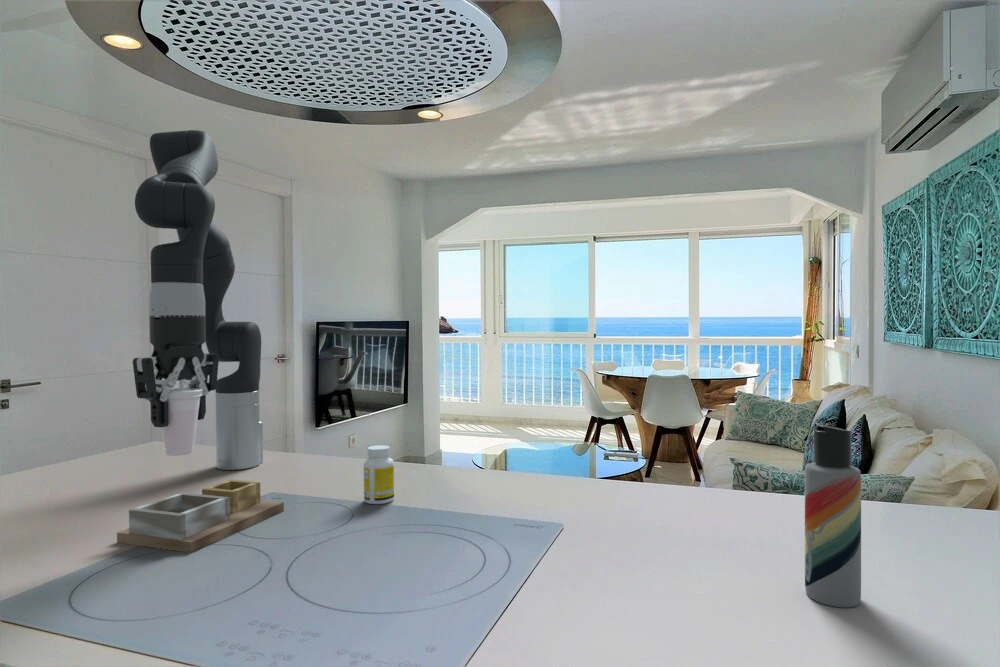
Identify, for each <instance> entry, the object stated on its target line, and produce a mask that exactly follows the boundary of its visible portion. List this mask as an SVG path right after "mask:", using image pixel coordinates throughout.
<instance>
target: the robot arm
mask: <svg viewBox="0 0 1000 667" xmlns="http://www.w3.org/2000/svg"><path fill="white" fill-rule="evenodd" d="M149 149H150V153H151V158H152V161H153V164H154V167H155V170H156V172H157V173H156V174H155V175H152V176H150V177H148V178H147V179H145V180H144V181H143V182H141V184H140V185H139V187H138V189H137V191H136V192H135V197H134V209H135V212H136V214H137V216H138V218H139V219H140V221H142V223H144V224H145V225H147V226H149V227H152V228H155V229H167V230H168V229H171V230H176V232H177V235H178V236H177V237H178V240H179V241H174V242H169V243H161V244H158V245H157V244H156V245H154V247H152V248H151V251H150V283H151V284H150V292H149V298H148V299H149V300H148V301H149V305H148V308H149V309H148V310H149V314H148V315H149V343H150V344H151V345H152V347H153V350H152V353H151V356H147V357H134V359H133V360H132V367H133V376H134V377H133V378H134V385H135V391H136V397H137V398H138V399H143V400H147V401H149V402H150V421H151V424H152V425H153V427H154V428H162V427H167V426H168V424H169V423H168V402H165V401H166V400H167V398H168V395H169V392H170V390H171V389H174V387H175V386H176V385H177V384H176V383H177V382H179V380H182V379H184V385H186V386H187V387H186V388H199V389H202V396H200V404H199V412H198V420H197V421H201V420H204V419H205V416H206V412H207V406H206V405H207V404H206V403H207V398H206V397H207V395H208V393H210V392H211V391H215V448H216V449H215V450H216V451H215V452H216V453H215V455H216V458H215V460H216V468H217V469H219V470H224V471H235V470H236V471H237V470H244V469H250V468H255V467H257V466H259V465H260V464H261V463H263V461H264V447H263V446H264V445H263V442H264V441H263V440H264V439H263V438H264V437H263V422H262V421H260V382H261V381H260V380H261V359H262V358H261V357H262V334H261V329H260V327H259V325H258V324H257V323H256V322H253V321H226V320H225V317H224V314H223V313H224V312H223V302H224V298H225V296H226V293H227V292H228V289H229V286H231V283H232V280H233V278H234V275H235V271H236V265H235V260H234V257H233V251H232V248H231V245H230V241H229V239H228V237H227V235H226V234H225V233H224V231H222V229H220V228H219V227H218V225H217V224H216V223H215V222H214V221H213V219H214V215H215V211H216V201H215V198H214V195H213V193H212V192H211V190H210V189H209V188H208V187H206V185H208V184H209V183H210V182H211V181H212V179H214V177H216V176H217V173H218V170H219V160H218V155H217V151H216V147H215V144H214V140H213V139H212V137H211V136H210V135H209V134H208V133H207V132H205V131H202V130H197V129H194V130H193V129H189V130H176V131H175V130H174V131H163V132H156V133H152V135H151V136H150V139H149ZM202 345H205V346H206V348H207V349H206V350H207V351H208V353H205V352H204V350H203V346H202ZM219 362H221V363H227V362H229V363H231V362H232V363H233V362H234V363H236V362H237V363H238V368H237V369H236V370H235V371H234V372H233V373H231V374H229V375H227V376H223V377H220V378H219V379H218V372H219ZM208 377H209V378H208ZM160 390H161V391H160ZM159 392H160V393H159Z"/></svg>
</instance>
